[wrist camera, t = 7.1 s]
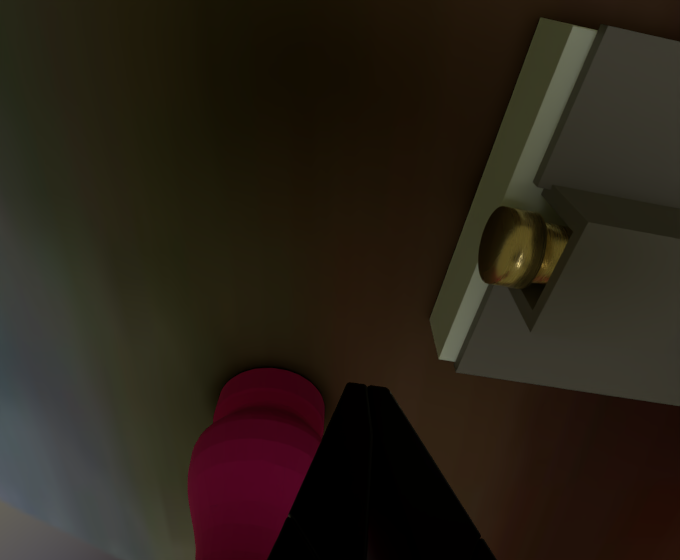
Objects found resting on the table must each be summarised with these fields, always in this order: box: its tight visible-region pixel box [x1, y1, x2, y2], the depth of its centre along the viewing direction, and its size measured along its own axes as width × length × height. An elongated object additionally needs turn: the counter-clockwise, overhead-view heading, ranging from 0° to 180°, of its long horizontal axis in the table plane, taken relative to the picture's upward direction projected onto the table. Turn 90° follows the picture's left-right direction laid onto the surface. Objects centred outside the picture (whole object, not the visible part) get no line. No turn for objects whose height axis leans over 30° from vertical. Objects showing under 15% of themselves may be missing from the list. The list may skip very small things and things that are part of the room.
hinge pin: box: [478, 206, 573, 289], centre depth 18 cm, size 14×3×3 cm, turn 79°
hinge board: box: [429, 17, 680, 406], centre depth 19 cm, size 15×14×6 cm
